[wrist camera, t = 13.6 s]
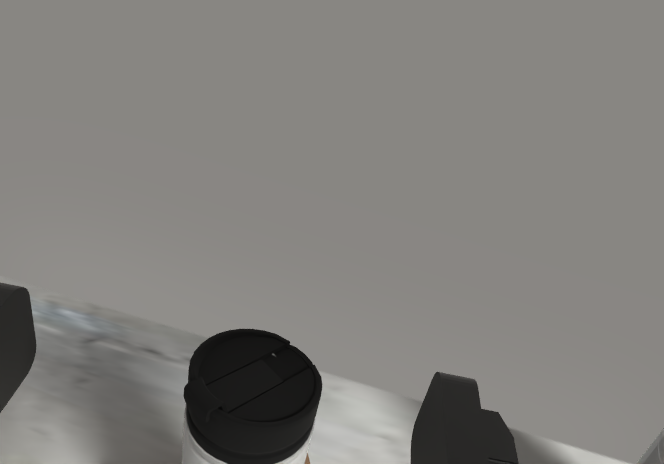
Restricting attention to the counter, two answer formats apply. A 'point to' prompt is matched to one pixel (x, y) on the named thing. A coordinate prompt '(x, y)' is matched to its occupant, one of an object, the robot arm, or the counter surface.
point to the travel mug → (249, 400)
